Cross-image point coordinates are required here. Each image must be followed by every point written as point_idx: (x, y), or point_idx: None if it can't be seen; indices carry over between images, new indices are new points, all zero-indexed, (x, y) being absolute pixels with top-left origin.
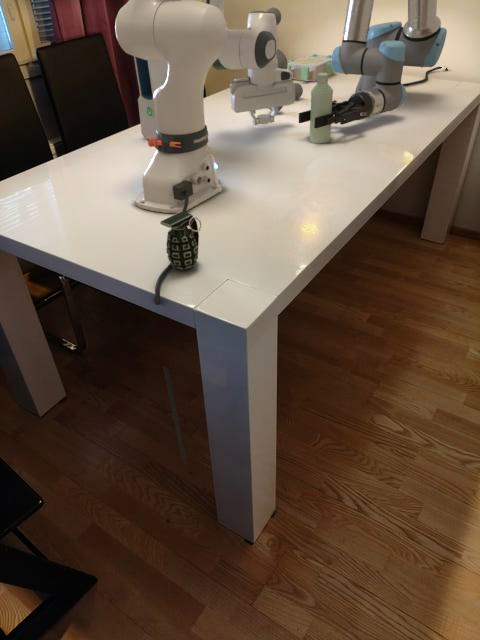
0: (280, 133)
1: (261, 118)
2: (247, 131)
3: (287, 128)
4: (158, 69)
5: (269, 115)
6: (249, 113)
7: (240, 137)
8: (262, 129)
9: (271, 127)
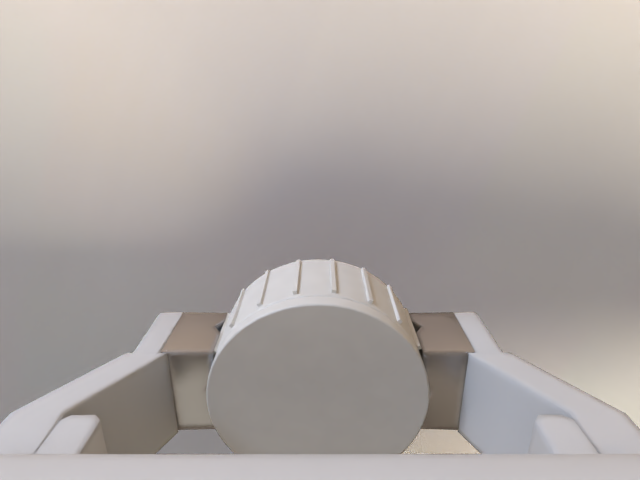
0: (430, 434)
1: None
2: (134, 221)
3: (582, 338)
4: None
5: (421, 418)
6: (27, 420)
7: (17, 367)
8: (326, 239)
9: (455, 222)
